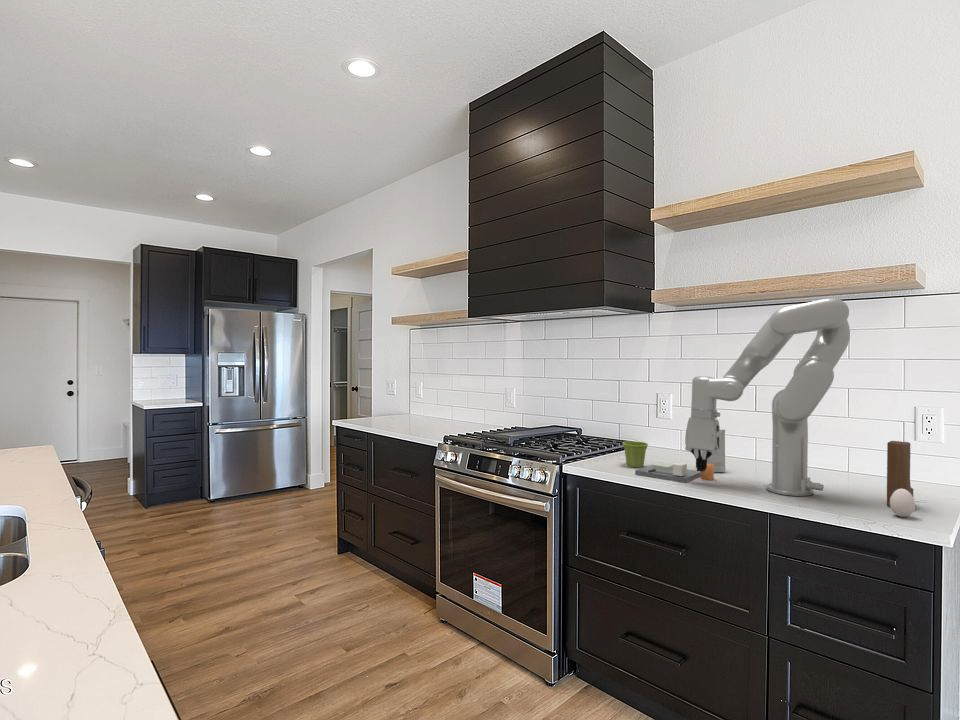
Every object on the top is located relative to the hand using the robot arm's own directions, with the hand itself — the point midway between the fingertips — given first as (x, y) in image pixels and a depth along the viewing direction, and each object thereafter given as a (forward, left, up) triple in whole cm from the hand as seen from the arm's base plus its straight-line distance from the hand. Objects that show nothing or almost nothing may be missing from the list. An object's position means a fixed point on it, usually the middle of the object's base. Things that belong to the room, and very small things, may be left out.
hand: (701, 470), depth 183 cm
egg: (-53, 0, -5) cm, 53 cm away
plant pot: (+29, -11, -5) cm, 31 cm away
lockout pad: (+17, -9, -3) cm, 20 cm away
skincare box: (+5, -22, -5) cm, 23 cm away
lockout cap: (+1, -8, -4) cm, 9 cm away
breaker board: (+13, -5, -4) cm, 15 cm away
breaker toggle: (+7, 0, -2) cm, 8 cm away
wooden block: (-51, -13, -5) cm, 53 cm away
